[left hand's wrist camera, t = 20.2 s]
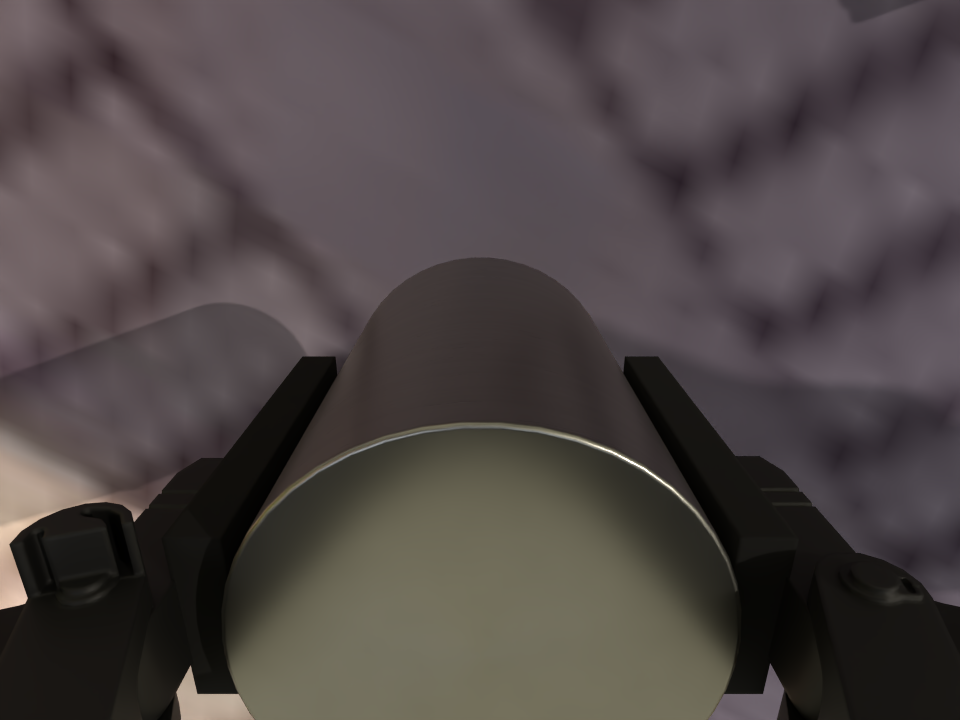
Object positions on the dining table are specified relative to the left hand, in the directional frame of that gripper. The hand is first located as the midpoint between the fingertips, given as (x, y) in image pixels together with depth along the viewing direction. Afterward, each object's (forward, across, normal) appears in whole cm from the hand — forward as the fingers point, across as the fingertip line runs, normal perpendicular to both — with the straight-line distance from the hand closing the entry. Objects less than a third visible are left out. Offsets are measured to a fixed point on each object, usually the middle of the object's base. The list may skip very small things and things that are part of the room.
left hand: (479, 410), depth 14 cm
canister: (+2, 0, 0) cm, 2 cm away
